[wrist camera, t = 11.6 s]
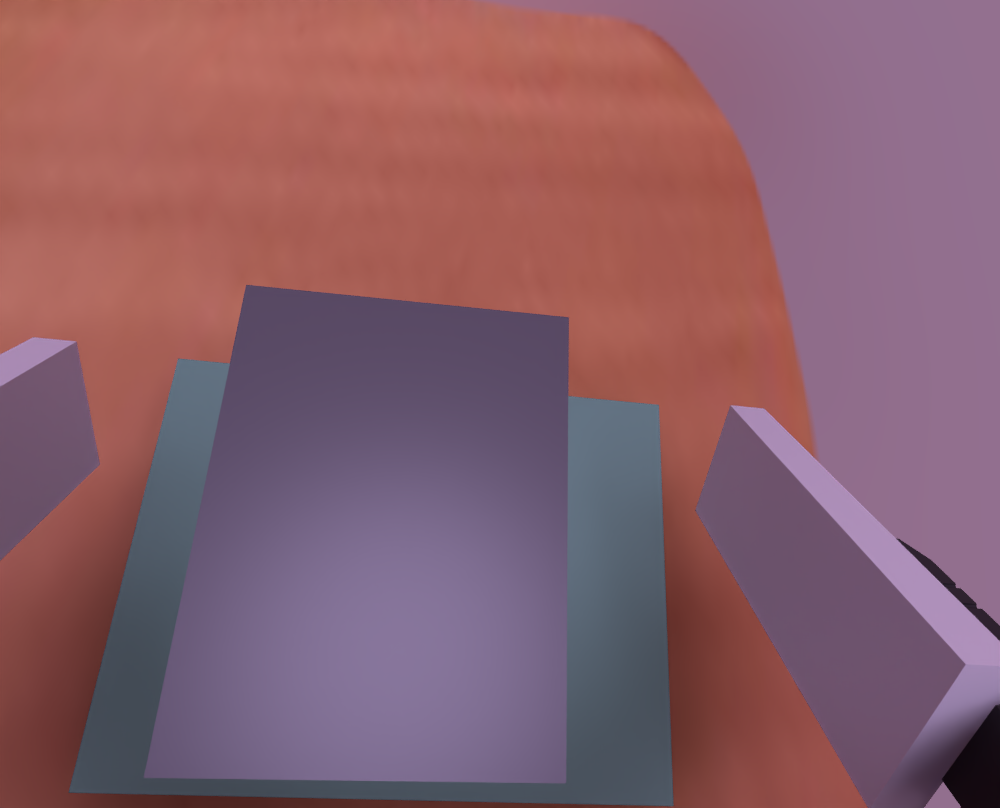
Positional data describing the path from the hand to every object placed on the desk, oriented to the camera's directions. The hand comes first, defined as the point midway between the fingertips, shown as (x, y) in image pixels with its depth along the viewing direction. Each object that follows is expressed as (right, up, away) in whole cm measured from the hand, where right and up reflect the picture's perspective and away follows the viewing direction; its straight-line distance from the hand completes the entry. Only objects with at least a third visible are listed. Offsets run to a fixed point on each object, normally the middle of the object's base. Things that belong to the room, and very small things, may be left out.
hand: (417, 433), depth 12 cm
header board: (-1, -5, +7) cm, 8 cm away
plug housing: (-1, -4, +5) cm, 7 cm away
